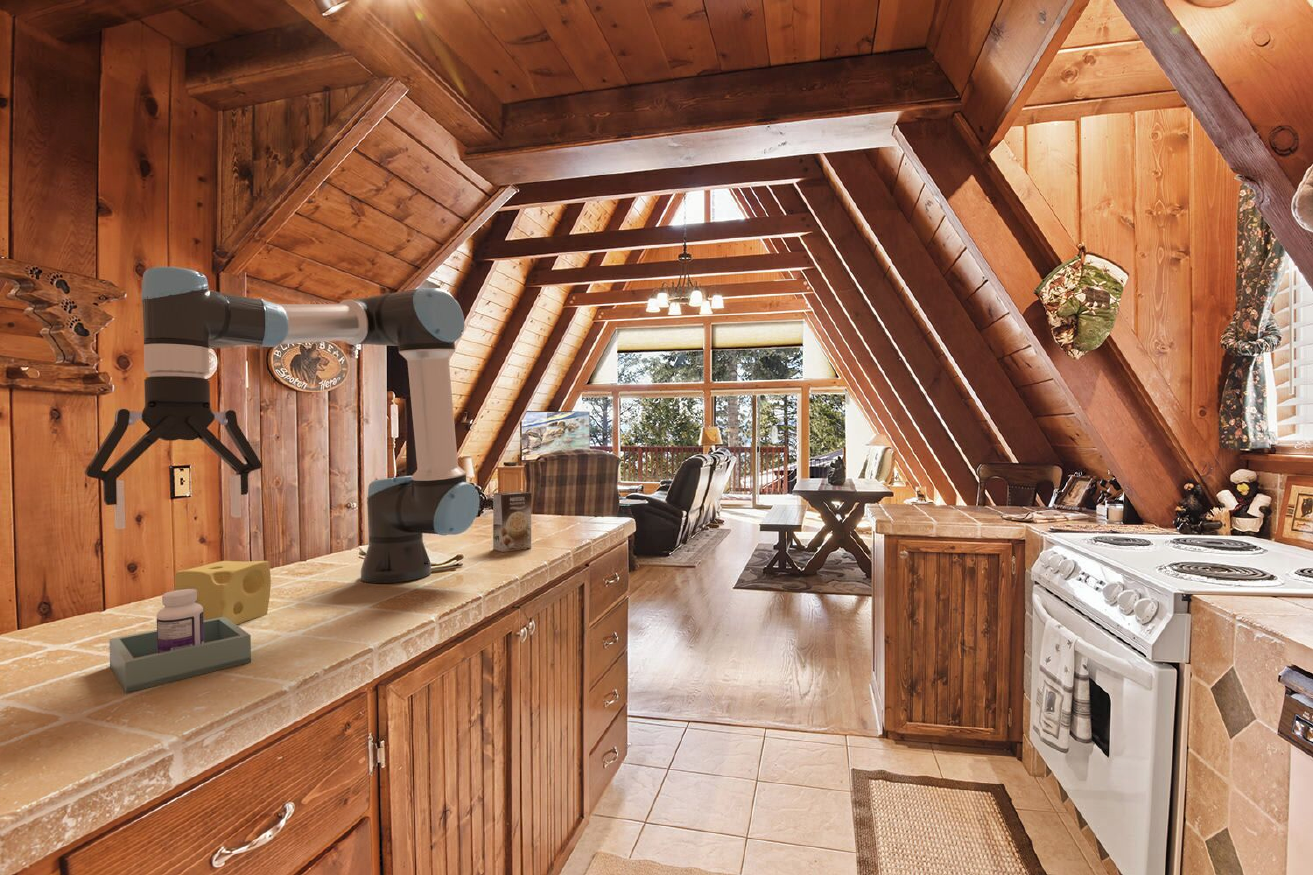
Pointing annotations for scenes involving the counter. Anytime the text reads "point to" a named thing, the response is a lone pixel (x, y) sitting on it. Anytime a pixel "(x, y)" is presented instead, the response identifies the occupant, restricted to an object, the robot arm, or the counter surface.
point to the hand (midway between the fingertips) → (181, 522)
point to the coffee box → (511, 521)
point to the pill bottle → (179, 621)
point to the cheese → (229, 589)
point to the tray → (177, 656)
